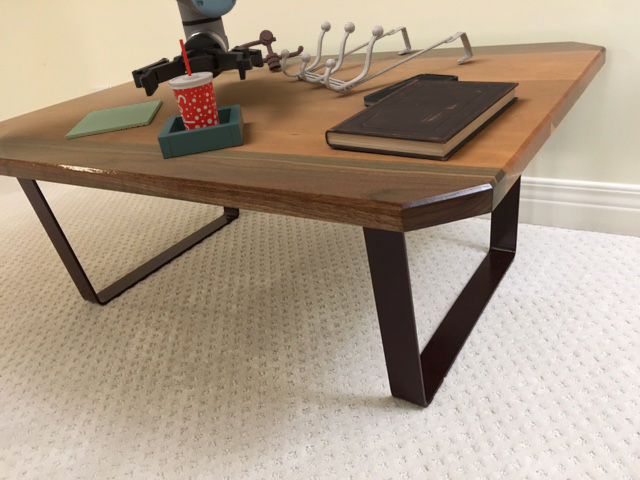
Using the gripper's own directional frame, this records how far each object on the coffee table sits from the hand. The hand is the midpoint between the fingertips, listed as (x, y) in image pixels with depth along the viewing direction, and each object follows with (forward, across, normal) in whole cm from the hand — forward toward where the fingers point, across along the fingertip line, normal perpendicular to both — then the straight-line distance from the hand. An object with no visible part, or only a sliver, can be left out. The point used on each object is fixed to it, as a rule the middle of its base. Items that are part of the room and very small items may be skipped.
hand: (194, 78), depth 77 cm
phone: (-2, -32, -8) cm, 33 cm away
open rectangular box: (+3, 0, -8) cm, 9 cm away
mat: (-20, +18, -8) cm, 28 cm away
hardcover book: (+13, -30, -8) cm, 34 cm away
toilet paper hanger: (-46, -10, -8) cm, 48 cm away
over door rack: (-22, -30, -8) cm, 38 cm away
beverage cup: (+3, 0, -8) cm, 9 cm away
